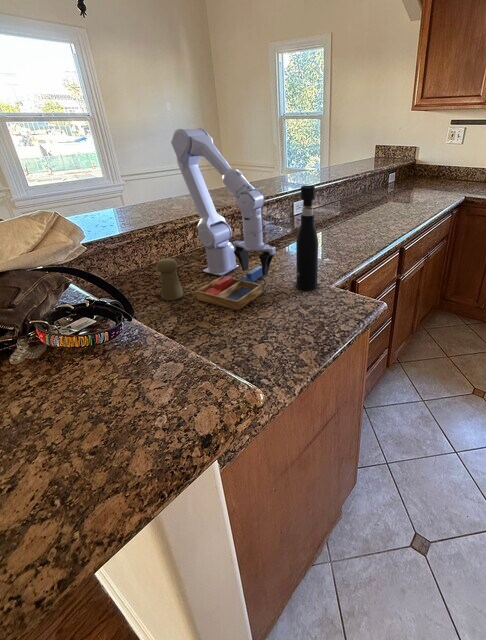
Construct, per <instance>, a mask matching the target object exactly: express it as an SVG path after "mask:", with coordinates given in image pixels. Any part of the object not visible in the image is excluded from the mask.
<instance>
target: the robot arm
mask: <svg viewBox="0 0 486 640" xmlns="http://www.w3.org/2000/svg"><path fill="white" fill-rule="evenodd" d="M170 144H171V146H172V148H173V152H174V153H175V156H176V163H177V165H178V168H179V171H180V173H181V175H182V178H183V181H184V183H185V185H186V188H187V190H188V192H189V194H190V197H191V199H192V203H193V204H194V207H195V209H196V211H197V214H198V216H199V218H200V220H199V222H198V224H197V226H196V229H197V231H198V238H199V241H200V243H201V245H203V248H205V252H206V253H205V254H206V262H207V267H206V268H204V269H203V270H202V272H203V273H207V274H211V275H216V276H220V277H222V276H225V275H226V274H228V273H230V272H231V271H233V270H235V269H236V268H238V267H239V264H237V261H236V258H237V260H238V261H239V263H240V267H241V269H242V271H243V272H246V271H247V270H249V252H250V251H253V252H259V253H261V254H259V256H258V258H259V260H260V264H261V267H262V273H263V275H262V276H266V275H268V274H269V270H270V266H271V263H272V260H273V258H274V256H275V254H276V253H277V252H276V251H277V250H276V249H277V248H276V246H272V245H269V244H266V243H264V239H263V217H262V207H263V206H264V204H265V195H264V194H263V191H262V190H261V189H259V188H257V187H254V186H253V185H252V184H250V183H249V181H248V180H247V179H246V178H245V176H244V174H243V172H242V171H241V170H238V169H237V168H232V167H231V166H230V165H229V163H228V161H226V159H225V158H224V156H223V155H222V154H221V152H220V151H219V150H218V148H217V147H216V146H215V144H214V141H213V137H212V136H210V135H209V133H208V131H206V129H204V128H201V127H199V128H185V129H184V128H177V129H175V130H174V131H173V134H172V137H171V140H170ZM202 157H204V159H206V161H207V162H208V163H209V164H210V165H211V166H212V167H213V168H214V169H215V170H216V171H217V172H218V173H219V174H220V176H222V184H223V185H224V186H225V187H226V188H227V189H228V190H229V192H230V193H231V194H232V195H233V196H234V198H235V199H236V205H237V207H238V209H239V211H240V216H241V219H242V234H243V240H235V241H232V242H230V239H232V236H233V231H232V227H231V226H230V225H229V224H228V223H227V221H226V218H225V217H224V216H223V215H220V214H219V213H218V212H217V210H216V207H215V205H214V202H213V199H212V197H211V194H210V192H209V190H208V186H207V184H206V182H205V179H204V177H203V174H202V172H201V170H200V167H199V163H200V160H201V158H202Z"/></svg>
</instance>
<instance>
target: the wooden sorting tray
mask: <svg viewBox="0 0 486 640" xmlns="http://www.w3.org/2000/svg"><path fill="white" fill-rule="evenodd" d="M225 277H227V275H222V276H220V277H218V278H216V279H214V280H213V281H211V282H208V283H207V284H205V285H204V286H202V287H200V288H198V289H197V290H195V298H196V300H197V301H202V302H206V303H208V304H212V305H215V306H216V305H217V306H220V307H224V308H228V309H231V310H234V311H240V310H241V309H243V307H245V306H247V305H248V304H249V303H250V302H252V301H253V300H255V299H256V298H257V297H259V296H261V294H262V293H264V292H263V284H261V283H256V282H253V283H252V282H248V281H243V280H239V279H240V278H234V277H233V284H234V285H232V286H231V287H229V288H227V289H226V290H224V291H223V292H221V293H219V294H218V295H213V294H209V293H205V291H206V290H208V289H210V288H215V286H214V283H216V282H218V281H220V280H221V279H223V278H225Z"/></svg>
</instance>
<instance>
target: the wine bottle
mask: <svg viewBox="0 0 486 640" xmlns="http://www.w3.org/2000/svg"><path fill="white" fill-rule="evenodd" d="M315 199H316V186H314V185H301V186H300V200H302V203H303V204H302V208H301V215H300V226H299V229H298V231H297V236H296V241H295V242H296V243H295V246H296V248H295V249H296V250H295V251H296V253H295V255H296V259H295V260H296V269H295V271H296V288H297V290H300V291H306V292H311V291H313V290H316V289H317V288H318V271H319V270H318V269H319V268H318V264H319V238H318V232H317V229H316V227H315V214H314V208H313V200H315Z"/></svg>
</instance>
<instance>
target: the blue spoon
mask: <svg viewBox="0 0 486 640" xmlns="http://www.w3.org/2000/svg"><path fill="white" fill-rule="evenodd" d="M263 276H264V275H263V273H262V266H260V265H257V266H255V267H254V268H252V269H251V270H248V271H247V272H246V276H243V277H240V278H238V279H239V280H243V281H248V282H252V283H254V282H255V281H256V280H258V279H260V278H261V277H263Z"/></svg>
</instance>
